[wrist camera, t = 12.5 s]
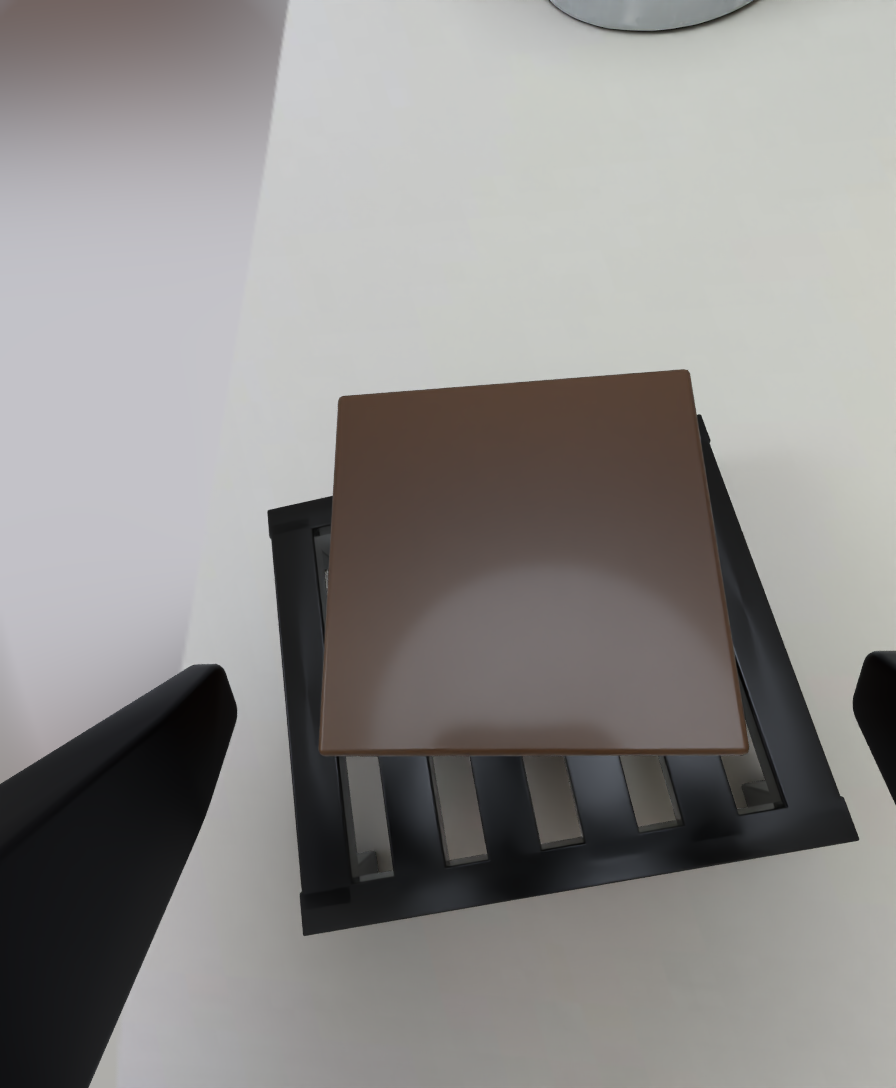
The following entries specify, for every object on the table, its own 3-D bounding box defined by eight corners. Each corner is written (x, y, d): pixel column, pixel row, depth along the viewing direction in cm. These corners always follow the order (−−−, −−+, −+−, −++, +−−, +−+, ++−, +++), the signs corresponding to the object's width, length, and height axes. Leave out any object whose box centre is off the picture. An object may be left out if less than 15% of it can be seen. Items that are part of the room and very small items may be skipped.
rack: (345, 897, 18) (298, 942, 15) (307, 544, 22) (263, 507, 18) (792, 818, 17) (866, 844, 14) (671, 465, 21) (703, 409, 18)
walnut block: (609, 735, 15) (753, 755, 6) (441, 736, 16) (315, 757, 6) (594, 571, 16) (691, 365, 7) (440, 577, 17) (336, 394, 8)
